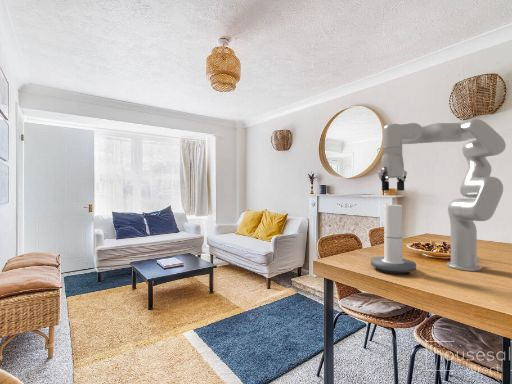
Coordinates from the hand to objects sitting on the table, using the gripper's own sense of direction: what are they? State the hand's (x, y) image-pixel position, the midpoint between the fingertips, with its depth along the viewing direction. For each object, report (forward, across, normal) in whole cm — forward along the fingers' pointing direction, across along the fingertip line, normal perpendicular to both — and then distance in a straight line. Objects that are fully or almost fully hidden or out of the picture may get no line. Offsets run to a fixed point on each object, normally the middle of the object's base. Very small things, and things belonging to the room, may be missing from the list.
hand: (393, 190), depth 121 cm
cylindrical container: (+32, 0, 0) cm, 32 cm away
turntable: (+34, +1, 0) cm, 34 cm away
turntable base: (+35, +1, 0) cm, 35 cm away
